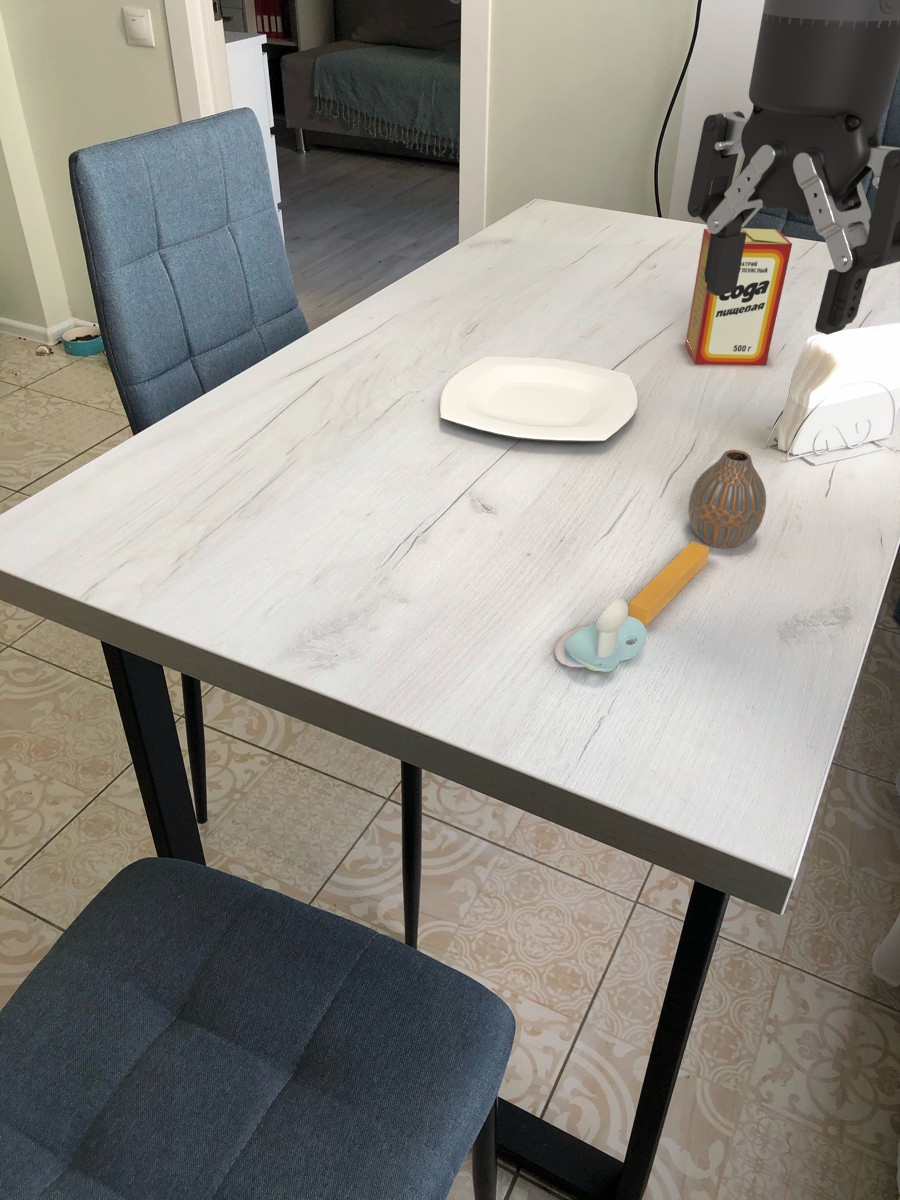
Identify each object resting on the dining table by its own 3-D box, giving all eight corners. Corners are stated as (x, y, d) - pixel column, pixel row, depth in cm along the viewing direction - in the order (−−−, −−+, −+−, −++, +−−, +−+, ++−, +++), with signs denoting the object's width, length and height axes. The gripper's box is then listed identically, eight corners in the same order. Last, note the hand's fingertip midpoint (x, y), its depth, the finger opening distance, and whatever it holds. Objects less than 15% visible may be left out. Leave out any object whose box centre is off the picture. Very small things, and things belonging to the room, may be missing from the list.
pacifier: (537, 658, 75) (594, 693, 72) (540, 594, 72) (601, 628, 68) (596, 621, 79) (653, 652, 76) (602, 558, 76) (662, 588, 72)
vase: (763, 528, 91) (782, 447, 86) (749, 564, 86) (769, 480, 81) (692, 512, 94) (707, 432, 89) (675, 546, 89) (690, 463, 83)
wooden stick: (688, 556, 87) (691, 540, 86) (706, 563, 86) (710, 547, 85) (626, 618, 79) (629, 601, 78) (645, 626, 79) (648, 609, 78)
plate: (619, 467, 101) (621, 450, 100) (416, 437, 107) (416, 421, 105) (647, 384, 119) (649, 369, 118) (472, 362, 124) (472, 348, 123)
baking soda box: (694, 364, 125) (715, 239, 115) (684, 346, 130) (704, 225, 120) (765, 365, 125) (792, 240, 115) (753, 346, 130) (778, 226, 120)
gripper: (1005, 15, 47) (908, 332, 56) (774, -4, 56) (725, 271, 66) (918, 22, 43) (830, 359, 53) (687, 1, 52) (648, 291, 62)
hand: (772, 310), depth 59 cm, fingers open, 8 cm apart
